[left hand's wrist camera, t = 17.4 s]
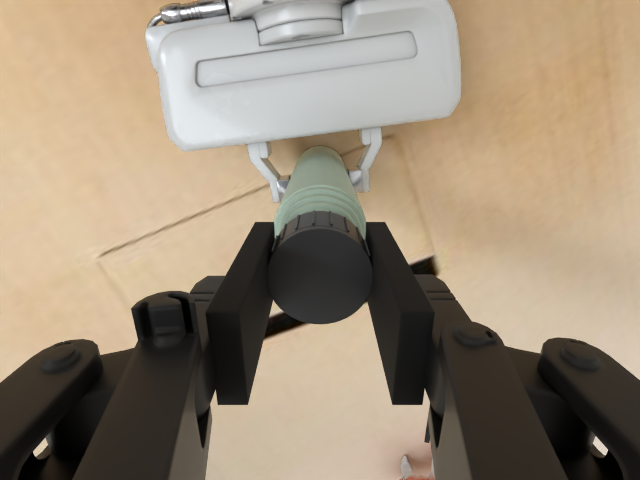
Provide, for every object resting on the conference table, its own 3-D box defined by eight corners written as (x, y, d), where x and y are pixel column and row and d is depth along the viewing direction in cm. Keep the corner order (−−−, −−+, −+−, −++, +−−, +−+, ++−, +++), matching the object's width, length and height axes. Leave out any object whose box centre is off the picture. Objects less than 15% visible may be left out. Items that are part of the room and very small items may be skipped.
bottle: (317, 204, 34) (314, 345, 14) (285, 168, 32) (231, 267, 13) (354, 173, 33) (407, 278, 13) (322, 135, 31) (326, 185, 12)
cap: (386, 244, 14) (398, 268, 12) (330, 311, 15) (331, 343, 13) (308, 189, 13) (306, 204, 11) (255, 264, 14) (244, 290, 12)
